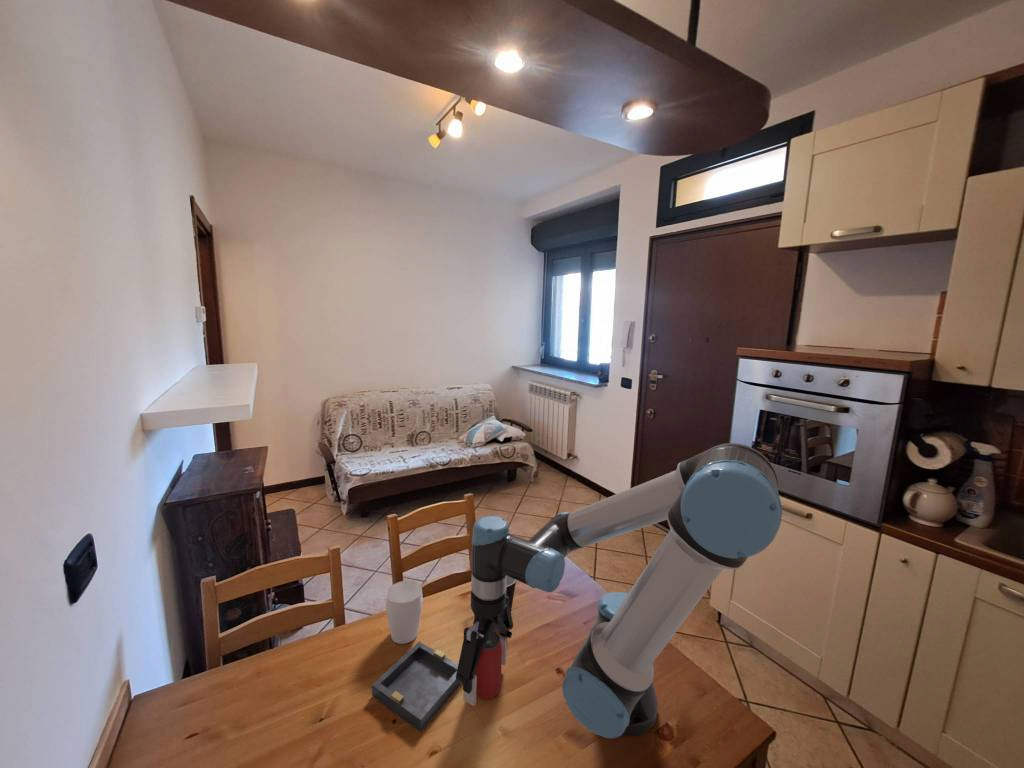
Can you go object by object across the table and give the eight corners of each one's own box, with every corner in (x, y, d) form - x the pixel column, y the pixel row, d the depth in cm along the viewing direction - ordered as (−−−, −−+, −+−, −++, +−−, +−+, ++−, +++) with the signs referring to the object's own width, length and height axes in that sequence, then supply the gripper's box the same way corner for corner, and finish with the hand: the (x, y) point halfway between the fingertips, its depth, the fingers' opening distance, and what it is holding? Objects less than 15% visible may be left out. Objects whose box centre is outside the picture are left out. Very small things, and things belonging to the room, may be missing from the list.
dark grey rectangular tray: (464, 679, 89) (465, 665, 89) (420, 732, 78) (420, 716, 77) (419, 651, 97) (419, 638, 96) (372, 696, 85) (371, 681, 84)
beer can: (473, 704, 84) (474, 653, 82) (468, 677, 90) (469, 629, 88) (503, 697, 86) (505, 647, 84) (496, 671, 92) (498, 624, 90)
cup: (417, 649, 97) (417, 604, 96) (381, 647, 97) (380, 603, 96) (426, 622, 106) (426, 580, 104) (392, 620, 106) (392, 579, 105)
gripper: (503, 557, 96) (500, 638, 99) (437, 616, 76) (436, 714, 79) (530, 568, 92) (526, 651, 96) (469, 632, 72) (466, 735, 76)
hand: (485, 680), depth 88 cm, fingers open, 11 cm apart
